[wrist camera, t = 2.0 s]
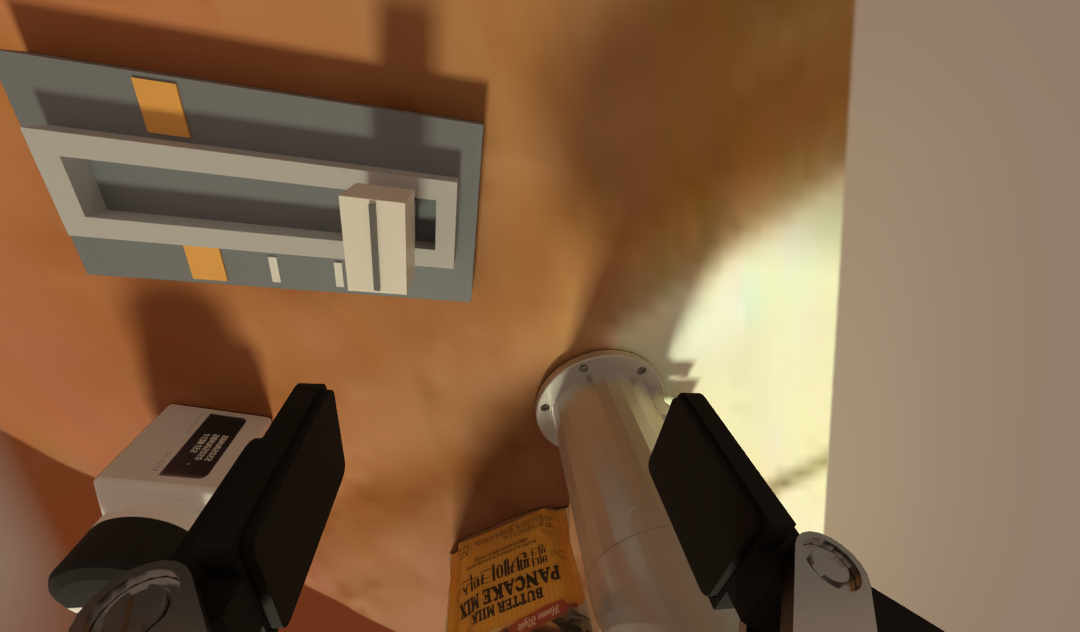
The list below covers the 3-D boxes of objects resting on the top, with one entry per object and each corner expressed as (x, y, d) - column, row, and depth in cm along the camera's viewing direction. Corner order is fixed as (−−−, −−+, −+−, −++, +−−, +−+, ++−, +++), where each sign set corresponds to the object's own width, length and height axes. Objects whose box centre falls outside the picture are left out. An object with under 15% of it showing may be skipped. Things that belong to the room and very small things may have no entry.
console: (483, 122, 25) (483, 127, 22) (471, 290, 31) (470, 311, 28) (27, 51, 21) (-51, 45, 18) (113, 262, 26) (65, 284, 23)
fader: (421, 178, 24) (404, 204, 19) (421, 254, 26) (406, 296, 21) (370, 172, 23) (337, 196, 18) (375, 250, 26) (347, 292, 21)
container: (169, 401, 32) (4, 564, 21) (273, 415, 34) (172, 571, 23) (177, 463, 36) (38, 632, 25) (271, 473, 38) (182, 633, 27)
